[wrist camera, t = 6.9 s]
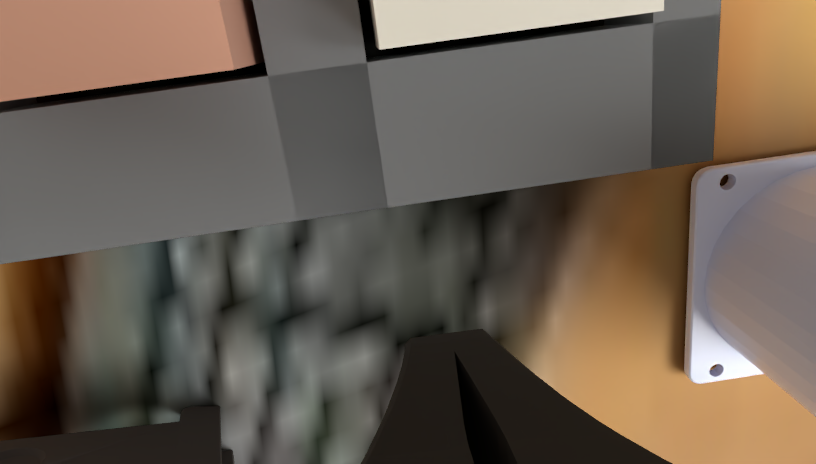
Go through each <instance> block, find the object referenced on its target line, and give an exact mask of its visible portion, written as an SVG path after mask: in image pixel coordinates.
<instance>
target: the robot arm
mask: <svg viewBox="0 0 816 464" xmlns="http://www.w3.org/2000/svg"><path fill="white" fill-rule="evenodd" d="M727 174H728V181H727V183H726V184H725V185H724V186H721V187H720V181H721V178H722V177H723V176H724V175H727ZM715 364H717V365H716V367H715V368H714V369H713V370H710V368H711V367H712V366H713V365H715ZM684 371H685V374H686V376H687V377H688V378H689V379H690V380H691V381H692V382H694V383H698V384H702V383H708V382H715V381H721V380H727V379H734V378H740V377H746V376H753V375H759V374H765V375H766V376H768V377H769V378H770V379H771V380H772V381H774V382H775V383H776V384H777V385H778V386H780V387H781V388H782V389H783V390H784V391H786V392H787V393H788V394H789V395H790V396H791V397H793V398H794V399H795V400H796V401H797V402H799V403H800V404H801V405H802V406H803V407H805V408H806V409H807V410H808V411H809V412H811V413H812V414H813V415H814V416H815V417H816V151H811V152H804V153H797V154H790V155H783V156H776V157H770V158H763V159H756V160H749V161H742V162H735V163H728V164H722V165H715V166H708V167H704V168H702V169H700V170H699V171H698V172H696V174H695V175H694V177H693V178H692V183H691V203H690V229H689V255H688V281H687V307H686V333H685V359H684ZM361 464H672V463H670V462H668V461H666V460H664V459H662V458H661V457H659V456H657V455H655V454H654V453H652V452H650V451H648V450H646V449H645V448H643V447H641V446H639V445H638V444H636V443H634V442H632V441H631V440H629V439H627V438H625V437H624V436H622V435H620V434H619V433H617V432H615V431H614V430H612V429H610V428H609V427H607V426H606V425H604V424H602V423H601V422H599V421H598V420H596V419H595V418H593V417H592V416H591V415H589V414H588V413H586V412H585V411H583V410H582V409H580V408H579V407H577V406H576V405H574V404H573V403H572V402H570V401H569V400H567V399H566V398H565V397H563V396H562V395H560V394H559V393H558V392H557V391H555V390H554V389H553V388H552V387H550V386H549V385H548V384H547V383H545V382H544V381H543V380H541V379H540V378H539V377H538V376H536V375H535V374H534V373H533V372H531V371H530V370H529V369H528V368H527V367H525V366H524V365H523V364H522V363H521V362H520V361H519V360H517V359H516V358H515V357H514V356H513V355H512V354H510V353H509V352H508V351H507V350H506V349H505V348H504V347H503V346H501V345H500V344H499V343H498V342H497V341H496V340H495V339H494V338H493V337H491V336H490V335H489V334H488V333H487V332H486V331H484V330H483V329H477V330H469V331H461V332H454V333H446V334H439V335H431V336H424V337H416V338H410V339H409V341H408V342H407V343H406V344H405V352H404V358H403V363H402V367H401V371H400V374H399V378H398V381H397V384H396V387H395V390H394V392H393V395H392V398H391V400H390V403H389V406H388V408H387V411H386V413H385V416H384V418H383V420H382V422H381V424H380V426H379V428H378V431H377V433H376V435H375V437H374V439H373V441H372V443H371V445H370V447H369V450H368V452H367V453H366V455H365V457H364V459H363V461H362V463H361Z"/></svg>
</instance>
